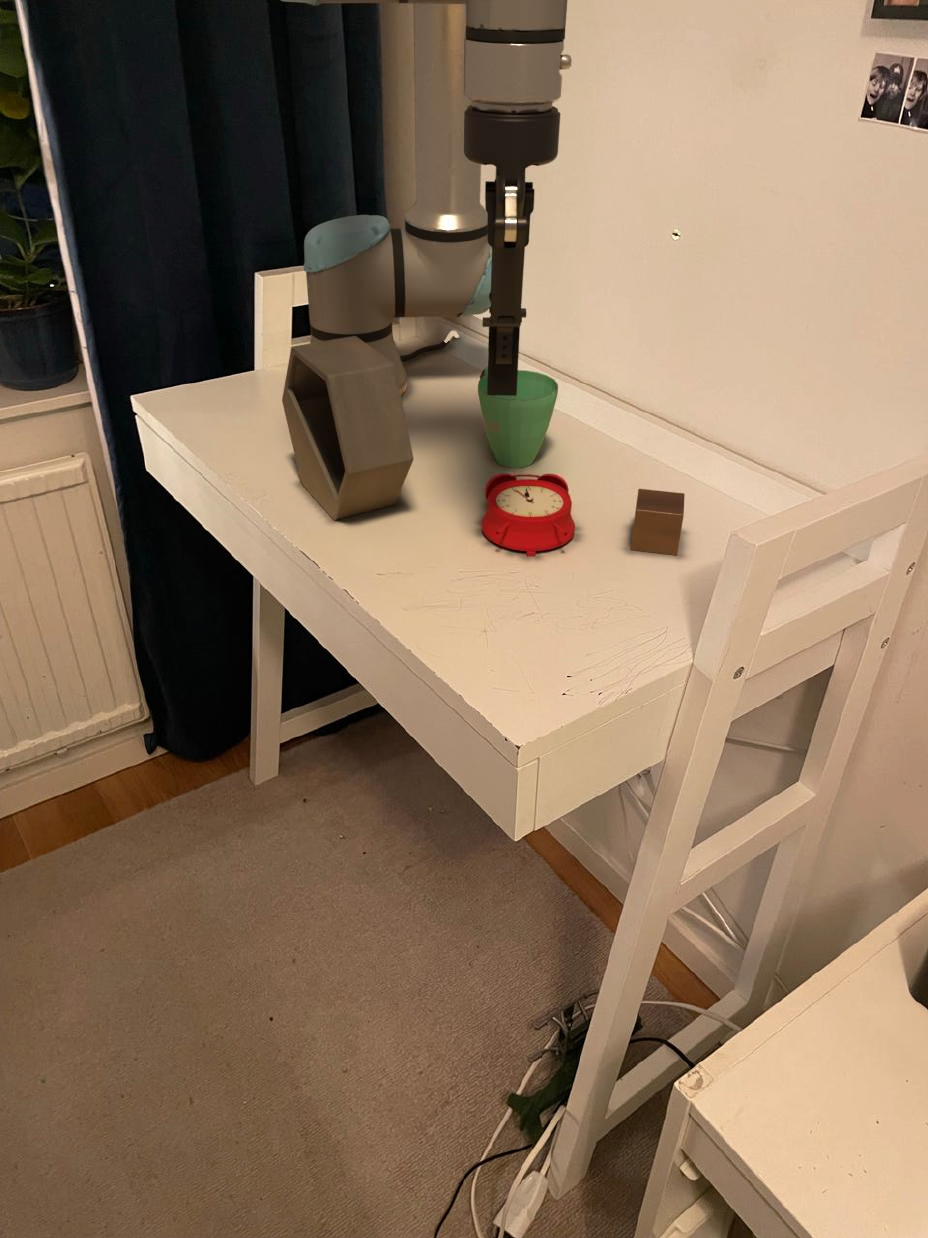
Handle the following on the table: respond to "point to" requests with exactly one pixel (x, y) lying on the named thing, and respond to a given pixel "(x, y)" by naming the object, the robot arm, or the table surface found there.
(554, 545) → the alarm clock
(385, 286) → the robot arm
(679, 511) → the walnut block
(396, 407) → the hexagonal wooden shelf
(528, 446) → the mug
